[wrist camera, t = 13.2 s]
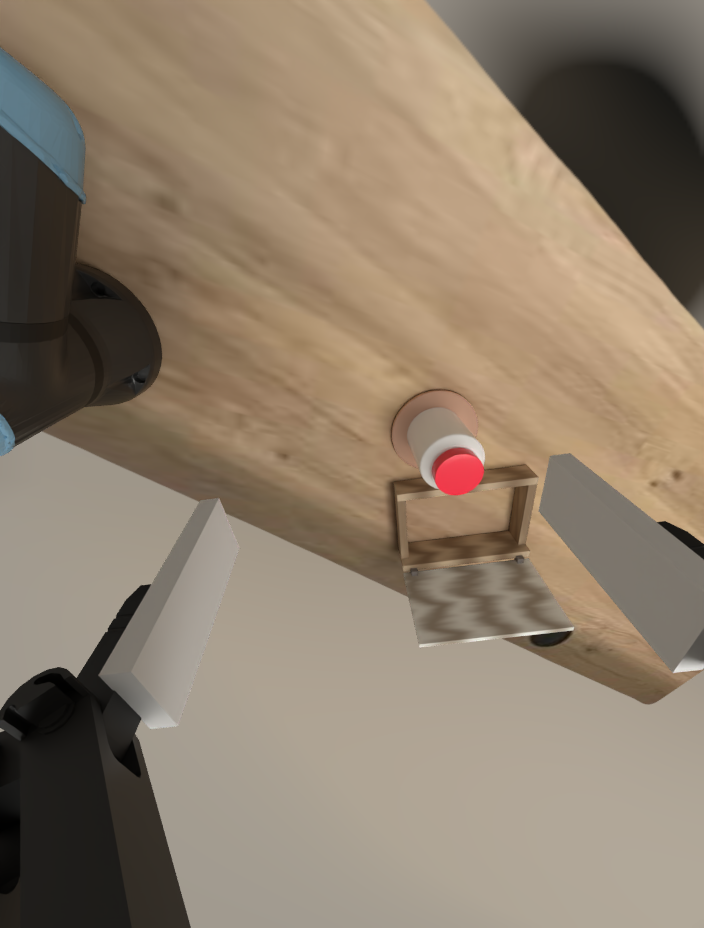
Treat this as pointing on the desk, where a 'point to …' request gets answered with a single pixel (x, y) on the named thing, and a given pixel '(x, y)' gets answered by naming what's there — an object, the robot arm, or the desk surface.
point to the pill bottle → (446, 451)
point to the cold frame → (477, 572)
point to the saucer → (421, 404)
